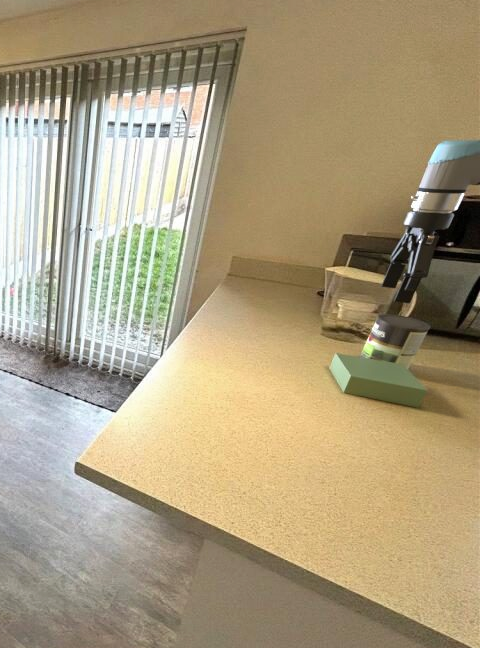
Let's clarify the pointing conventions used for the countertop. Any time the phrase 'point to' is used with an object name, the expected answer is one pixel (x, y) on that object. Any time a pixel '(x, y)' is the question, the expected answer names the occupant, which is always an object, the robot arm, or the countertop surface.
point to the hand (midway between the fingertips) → (394, 294)
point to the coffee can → (395, 339)
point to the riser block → (377, 380)
